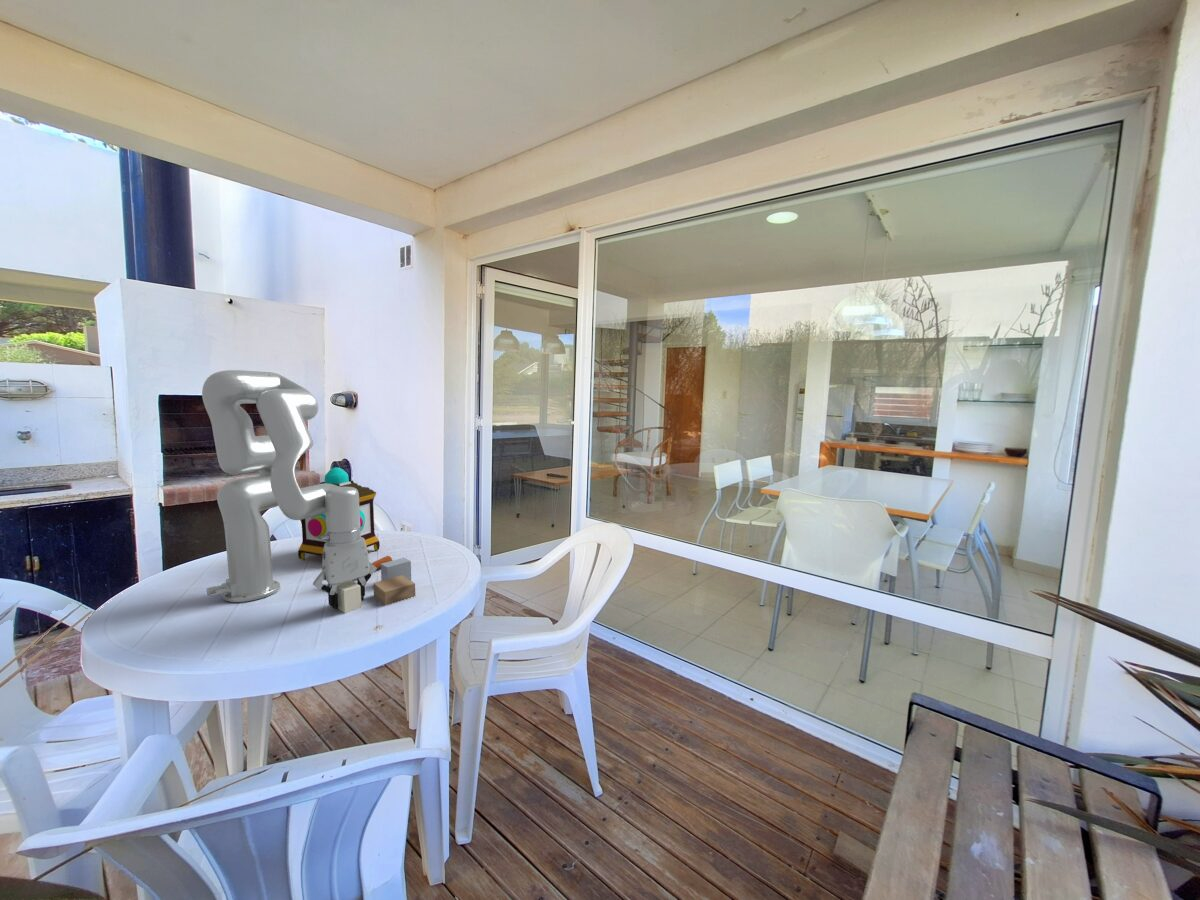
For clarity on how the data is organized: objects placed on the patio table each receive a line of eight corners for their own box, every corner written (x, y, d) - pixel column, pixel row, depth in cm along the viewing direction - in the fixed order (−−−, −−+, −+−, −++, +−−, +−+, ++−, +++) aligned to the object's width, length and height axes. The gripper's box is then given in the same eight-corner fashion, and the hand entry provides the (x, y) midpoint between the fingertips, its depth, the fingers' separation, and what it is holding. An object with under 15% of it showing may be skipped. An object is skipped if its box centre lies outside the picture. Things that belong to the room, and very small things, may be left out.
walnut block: (385, 606, 123) (384, 592, 123) (373, 596, 129) (373, 582, 128) (415, 597, 129) (415, 583, 128) (403, 588, 134) (402, 575, 134)
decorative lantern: (342, 542, 172) (338, 461, 168) (386, 549, 165) (383, 465, 162) (291, 561, 153) (285, 469, 149) (338, 569, 147) (333, 474, 143)
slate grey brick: (388, 587, 134) (387, 567, 133) (381, 583, 137) (380, 563, 136) (411, 580, 140) (410, 560, 139) (404, 576, 142) (404, 557, 141)
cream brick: (361, 608, 121) (360, 585, 121) (345, 613, 118) (343, 590, 118) (350, 600, 126) (348, 578, 125) (333, 605, 123) (332, 583, 122)
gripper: (312, 547, 111) (316, 620, 113) (384, 531, 124) (387, 597, 126) (300, 540, 116) (305, 610, 118) (371, 525, 129) (374, 589, 131)
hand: (347, 602), depth 122 cm, fingers open, 5 cm apart
